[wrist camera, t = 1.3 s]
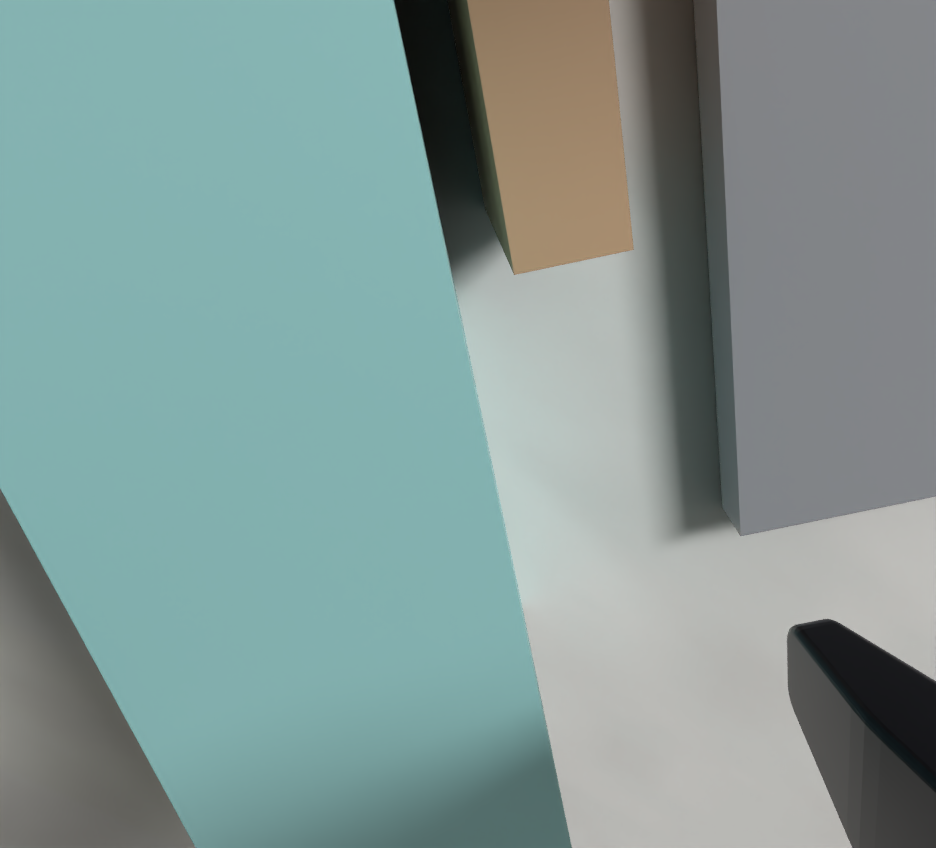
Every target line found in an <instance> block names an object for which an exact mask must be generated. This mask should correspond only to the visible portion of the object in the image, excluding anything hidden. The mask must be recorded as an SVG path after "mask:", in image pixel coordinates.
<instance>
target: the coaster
mask: <svg viewBox="0 0 936 848" xmlns="http://www.w3.org/2000/svg"><path fill="white" fill-rule="evenodd" d="M693 2H694V20H695V37H696V55H697V72H698V90H699V108H700V125H701V143H702V160H703V178H704V196H705V213H706V231H707V248H708V266H709V283H710V301H711V319H712V336H713V354H714V371H715V389H716V407H717V424H718V442H719V459H720V477H721V494H722V508H723V510H724V511H725V513H726V514H727V516H728V517H729V519H730V520H731V522H732V523H733V525H734V527H735V528H736V530H737V531H738V533H739V534H740V536H744V535H749V534H754V533H759V532H764V531H769V530H773V529H778V528H783V527H788V526H793V525H798V524H803V523H808V522H813V521H818V520H822V519H827V518H832V517H837V516H842V515H847V514H852V513H857V512H862V511H867V510H871V509H876V508H881V507H886V506H891V505H896V504H901V503H906V502H911V501H916V500H920V499H925V498H930V497H935V496H936V0H693Z"/></svg>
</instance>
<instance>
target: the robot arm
mask: <svg viewBox="0 0 936 848" xmlns="http://www.w3.org/2000/svg"><path fill="white" fill-rule="evenodd" d="M787 661H788V691H789V696H790V700H791V703H792V707H793V709H794V712H795V714H796V717H797V719H798V721H799V724H800V726H801V729H802V731H803V733H804V736H805V738H806V740H807V743H808V745H809V747H810V750H811V752H812V754H813V757H814V759H815V761H816V764H817V766H818V768H819V771H820V773H821V775H822V778H823V780H824V783H825V785H826V787H827V790H828V792H829V794H830V797H831V799H832V801H833V804H834V806H835V808H836V811H837V813H838V815H839V818H840V820H841V822H842V825H843V827H844V829H845V832H846V834H847V836H848V839H849V841H850V843H851V845H852V848H936V681H934V680H933V679H931V678H929V677H928V676H926V675H925V674H923V673H921V672H920V671H918V670H916V669H915V668H913V667H911V666H910V665H908V664H906V663H905V662H903V661H901V660H900V659H898V658H896V657H895V656H893V655H891V654H890V653H888V652H886V651H885V650H883V649H881V648H880V647H878V646H877V645H875V644H873V643H872V642H870V641H868V640H867V639H865V638H863V637H862V636H860V635H858V634H857V633H855V632H853V631H852V630H850V629H848V628H847V627H845V626H843V625H842V624H840V623H838V622H836V621H834V620H830V619H823V620H818V621H813V622H808V623H803V624H798V625H795V626H793V627H791V628H790V629H789V632H788V636H787Z"/></svg>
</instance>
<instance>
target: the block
mask: <svg viewBox="0 0 936 848" xmlns="http://www.w3.org/2000/svg"><path fill="white" fill-rule="evenodd" d="M0 489H1V491H2V493H3V494H4V496H5V498H6V500H7V502H8V504H9V505H10V507H11V509H12V511H13V513H14V515H15V516H16V518H17V520H18V522H19V524H20V526H21V527H22V529H23V531H24V533H25V535H26V537H27V538H28V540H29V542H30V544H31V546H32V548H33V550H34V551H35V553H36V555H37V557H38V559H39V561H40V562H41V564H42V566H43V568H44V570H45V572H46V573H47V575H48V577H49V579H50V581H51V583H52V584H53V586H54V588H55V590H56V592H57V594H58V595H59V597H60V599H61V601H62V603H63V605H64V607H65V608H66V610H67V612H68V614H69V616H70V618H71V619H72V621H73V623H74V625H75V627H76V629H77V630H78V632H79V634H80V636H81V638H82V640H83V641H84V643H85V645H86V647H87V649H88V651H89V652H90V654H91V656H92V658H93V660H94V662H95V663H96V665H97V667H98V669H99V671H100V673H101V675H102V676H103V678H104V680H105V682H106V684H107V686H108V687H109V689H110V691H111V693H112V695H113V697H114V698H115V700H116V702H117V704H118V706H119V708H120V709H121V711H122V713H123V715H124V717H125V719H126V720H127V722H128V724H129V726H130V728H131V730H132V732H133V733H134V735H135V737H136V739H137V741H138V743H139V744H140V746H141V748H142V750H143V752H144V754H145V755H146V757H147V759H148V761H149V763H150V765H151V766H152V768H153V770H154V772H155V774H156V776H157V777H158V779H159V781H160V783H161V785H162V787H163V788H164V790H165V792H166V794H167V796H168V798H169V800H170V801H171V803H172V805H173V807H174V809H175V811H176V812H177V814H178V816H179V818H180V820H181V822H182V823H183V825H184V827H185V829H186V831H187V833H188V834H189V836H190V838H191V840H192V842H193V844H194V845H195V847H196V848H572V847H571V842H570V837H569V832H568V827H567V822H566V818H565V813H564V808H563V803H562V798H561V793H560V788H559V784H558V779H557V774H556V769H555V764H554V759H553V754H552V750H551V745H550V740H549V735H548V730H547V725H546V720H545V716H544V711H543V706H542V701H541V696H540V691H539V687H538V682H537V677H536V672H535V667H534V662H533V657H532V653H531V648H530V643H529V638H528V633H527V628H526V623H525V619H524V614H523V609H522V604H521V599H520V595H519V590H518V585H517V580H516V576H515V571H514V566H513V561H512V556H511V552H510V547H509V542H508V537H507V533H506V528H505V523H504V518H503V514H502V509H501V504H500V499H499V495H498V490H497V485H496V480H495V476H494V471H493V466H492V461H491V457H490V452H489V447H488V442H487V438H486V433H485V428H484V423H483V419H482V414H481V409H480V404H479V400H478V395H477V390H476V385H475V381H474V376H473V371H472V366H471V362H470V357H469V352H468V347H467V343H466V338H465V333H464V328H463V324H462V319H461V314H460V309H459V305H458V300H457V295H456V290H455V286H454V281H453V276H452V271H451V267H450V262H449V257H448V252H447V248H446V243H445V238H444V233H443V229H442V224H441V219H440V214H439V210H438V205H437V200H436V195H435V191H434V186H433V181H432V176H431V172H430V167H429V162H428V157H427V153H426V148H425V143H424V138H423V133H422V129H421V124H420V119H419V114H418V110H417V105H416V100H415V95H414V91H413V86H412V81H411V76H410V72H409V67H408V62H407V57H406V53H405V48H404V43H403V38H402V34H401V29H400V24H399V19H398V15H397V10H396V5H395V0H0Z"/></svg>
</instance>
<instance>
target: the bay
mask: <svg viewBox="0 0 936 848" xmlns="http://www.w3.org/2000/svg"><path fill="white" fill-rule="evenodd" d="M447 1H448V7H449V12H450V18H451V23H452V29H453V34H454V40H455V45H456V51H457V56H458V62H459V67H460V73H461V78H462V84H463V89H464V95H465V101H466V106H467V112H468V117H469V123H470V128H471V134H472V139H473V145H474V150H475V156H476V161H477V167H478V172H479V178H480V183H481V189H482V194H483V200H484V205H485V209H486V211H487V214H488V216H489V218H490V221H491V223H492V225H493V227H494V230H495V232H496V234H497V237H498V239H499V241H500V243H501V246H502V248H503V250H504V253H505V255H506V257H507V259H508V262H509V264H510V266H511V269H512V271H513V273H514V275H516V274H521V273H525V272H530V271H535V270H540V269H544V268H549V267H554V266H559V265H563V264H568V263H573V262H578V261H582V260H587V259H592V258H597V257H601V256H606V255H611V254H616V253H620V252H625V251H630V250H634V249H633V239H632V229H631V219H630V209H629V199H628V189H627V178H626V168H625V158H624V148H623V138H622V128H621V118H620V108H619V98H618V88H617V78H616V68H615V58H614V48H613V38H612V28H611V18H610V8H609V0H447Z"/></svg>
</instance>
